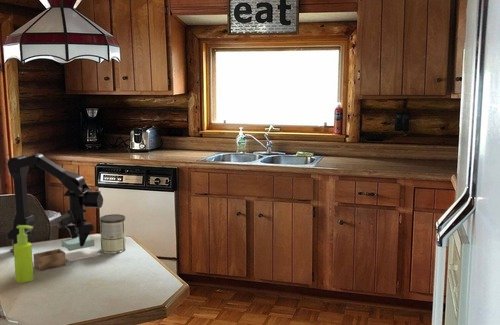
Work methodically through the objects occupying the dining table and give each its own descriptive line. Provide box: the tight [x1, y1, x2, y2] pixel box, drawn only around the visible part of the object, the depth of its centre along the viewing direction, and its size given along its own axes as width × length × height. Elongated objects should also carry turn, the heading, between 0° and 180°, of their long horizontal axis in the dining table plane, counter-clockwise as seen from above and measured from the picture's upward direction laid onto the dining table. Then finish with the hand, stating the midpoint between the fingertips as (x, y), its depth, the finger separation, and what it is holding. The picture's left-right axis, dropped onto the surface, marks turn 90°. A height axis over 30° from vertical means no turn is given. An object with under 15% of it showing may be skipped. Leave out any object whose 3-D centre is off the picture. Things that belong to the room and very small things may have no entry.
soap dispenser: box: [13, 225, 34, 284], centre depth 197 cm, size 6×7×20 cm
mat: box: [62, 247, 101, 263], centre depth 227 cm, size 12×13×1 cm
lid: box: [61, 236, 95, 251], centre depth 226 cm, size 11×7×3 cm, turn 130°
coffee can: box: [99, 213, 127, 254], centre depth 232 cm, size 10×10×14 cm
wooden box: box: [32, 248, 67, 272], centre depth 213 cm, size 10×6×5 cm, turn 130°
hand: (77, 244), depth 226 cm, fingers closed on lid, 7 cm apart
